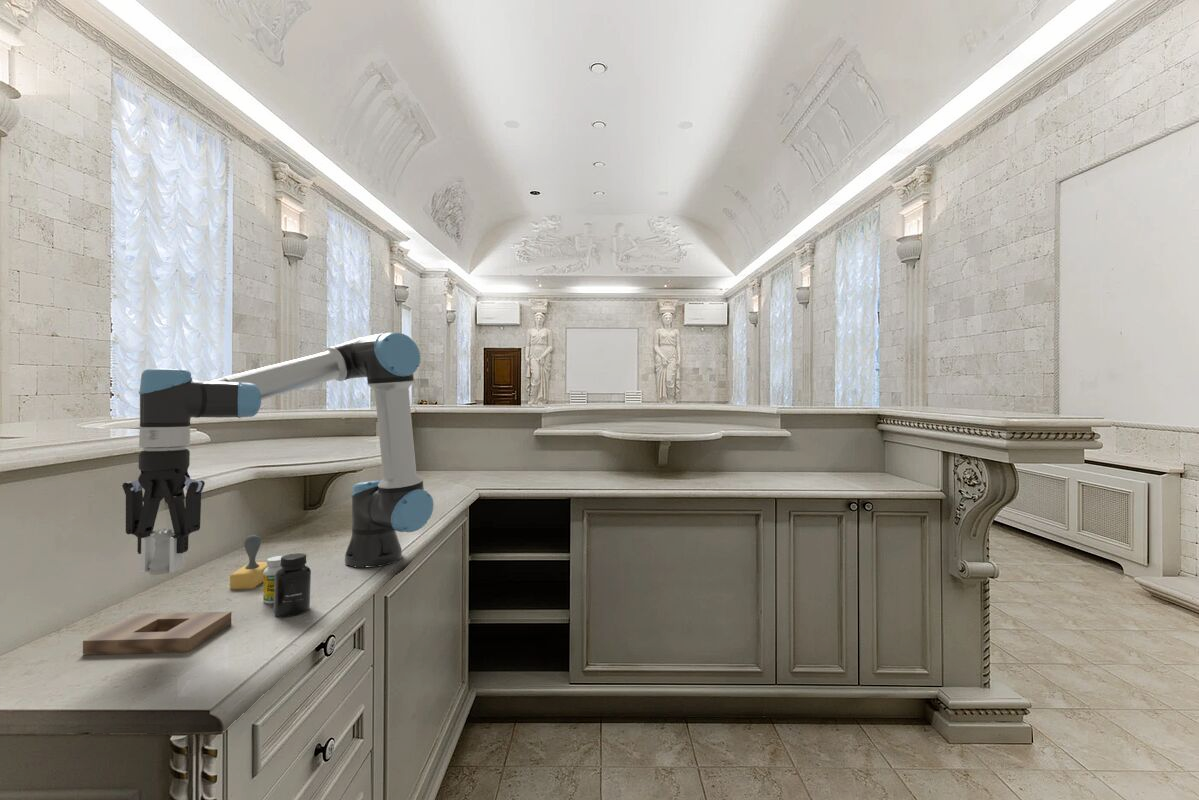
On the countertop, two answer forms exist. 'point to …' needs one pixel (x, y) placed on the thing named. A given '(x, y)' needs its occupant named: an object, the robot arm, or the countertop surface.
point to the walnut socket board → (158, 633)
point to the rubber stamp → (249, 567)
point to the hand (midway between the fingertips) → (162, 569)
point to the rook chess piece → (161, 552)
